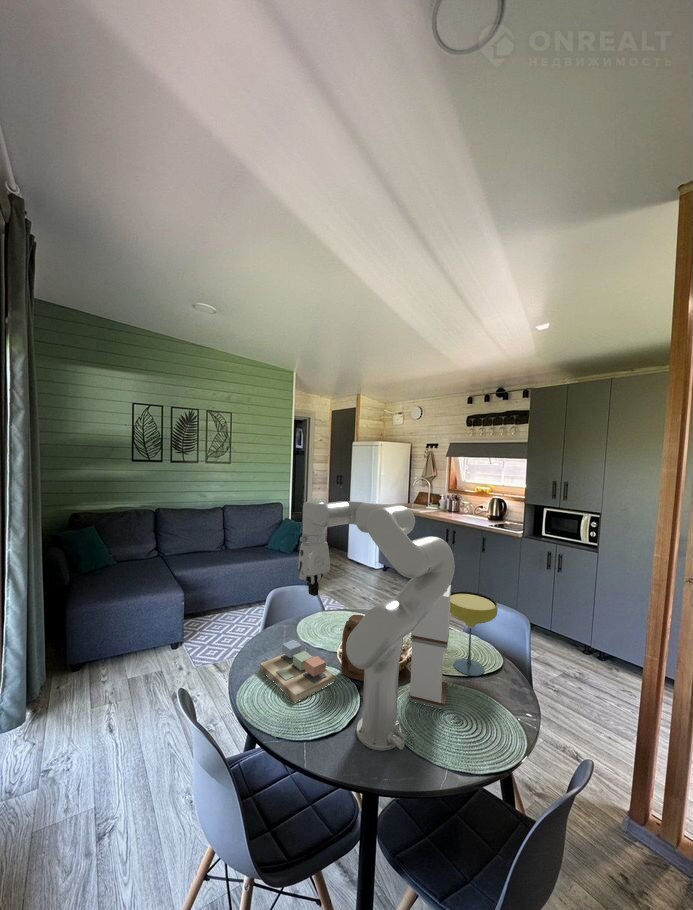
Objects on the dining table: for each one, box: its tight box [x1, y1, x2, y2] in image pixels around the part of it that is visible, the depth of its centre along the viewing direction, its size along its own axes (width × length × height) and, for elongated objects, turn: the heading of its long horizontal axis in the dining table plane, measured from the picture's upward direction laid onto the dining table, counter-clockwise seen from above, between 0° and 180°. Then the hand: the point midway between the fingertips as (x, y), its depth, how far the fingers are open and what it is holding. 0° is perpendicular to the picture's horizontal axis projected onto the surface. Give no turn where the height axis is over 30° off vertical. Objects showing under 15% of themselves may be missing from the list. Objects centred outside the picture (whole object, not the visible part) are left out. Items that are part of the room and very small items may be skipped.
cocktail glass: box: [450, 591, 499, 677], centre depth 138 cm, size 18×18×25 cm
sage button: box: [293, 650, 314, 670], centre depth 130 cm, size 5×5×3 cm
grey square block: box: [281, 639, 303, 658], centre depth 135 cm, size 5×5×3 cm
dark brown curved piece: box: [340, 614, 365, 681], centre depth 131 cm, size 11×8×20 cm
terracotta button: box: [305, 655, 327, 677], centre depth 125 cm, size 5×5×3 cm
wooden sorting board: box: [259, 650, 336, 703], centre depth 128 cm, size 22×16×3 cm
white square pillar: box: [409, 584, 452, 710], centre depth 121 cm, size 11×11×35 cm
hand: (313, 594), depth 123 cm, fingers closed
